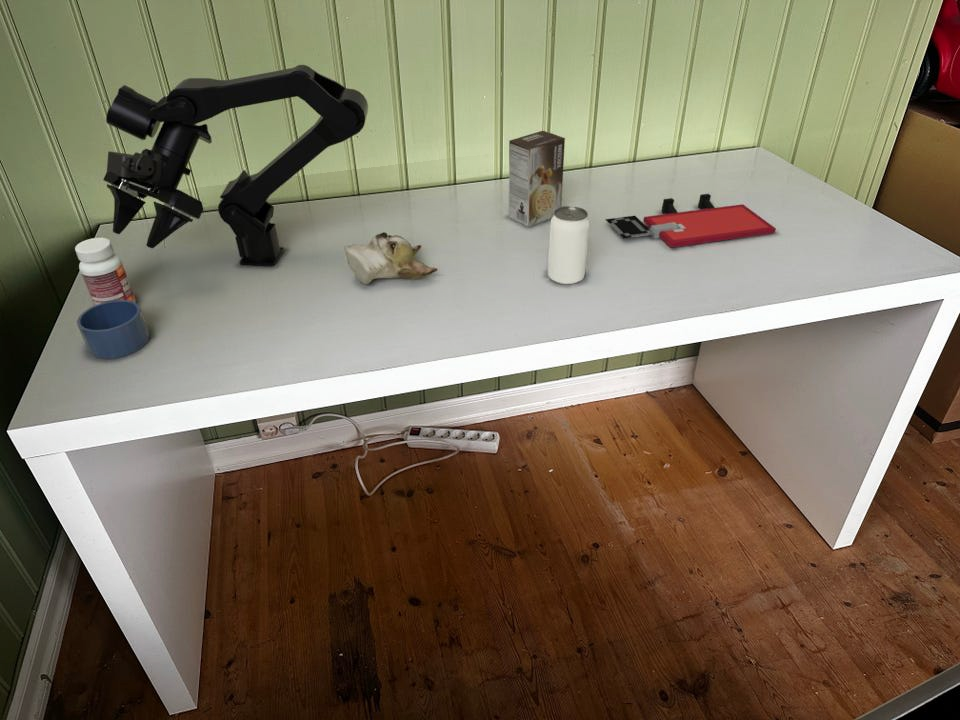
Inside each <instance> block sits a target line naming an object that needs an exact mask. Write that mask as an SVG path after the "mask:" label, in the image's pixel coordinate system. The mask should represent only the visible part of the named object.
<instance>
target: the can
mask: <svg viewBox="0 0 960 720" xmlns="http://www.w3.org/2000/svg"><path fill="white" fill-rule="evenodd" d="M588 215H589V214H588V211H587V210H586V209H584V208H583V207H578V206H575V205H566V206H565V205H564V206H561V207H560V208H557V209H556V210H555V211H554V216H553V217H552V218H551V219H550V228H549V241H548V243H549V244H548V261H547V264H548V265H547V276H548V278H549V279H550V280H551V281H553V282H554V283H556V284H559V285H567V286H569V285H570V286H571V285H575V284H578V283H579V282H581V281H582V280H583V279H584V278H585V274H586V264H587V263H586V262H587V255H588V254H587V253H588V244H589V234H590V220H589V217H588Z"/></svg>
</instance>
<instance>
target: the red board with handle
mask: <svg viewBox="0 0 960 720" xmlns="http://www.w3.org/2000/svg"><path fill="white" fill-rule="evenodd" d="M711 197H712V195H711V194H710V193H703V194H700V195H699V200H698V205H697V208H698V209H695V210H687V211H679V212H678V211H677V209H676V207H675V206H674V203H675V199H674V198H673V197H670V198H663V201H662V206H661V211H660V212H661V214H656V215H647V216H643V220H642V221H641V220H640V219H639V217H637V216H636V215H627V216H621V217H619V216H618V217H613V218H605V219H604V220H605V221H606V222H607V223H608V224H609V226H611V227H612V228H613V229H614V231H616V232H617V234H619V236H621V238H622V239H625V240H626V239H631V238H639V237H647V236H650V237H651V238H652V239H654V240H656V239H661V240H662V241H663V242H664V243H666V244H667V246H669V248H677V247H683V246H691V245H698V244H705V243H713V242H720V241H726V240H734V239H741V238H749V237H755V236H762V235H770V234H775V233H776V230H777V228H776V227H775V226H773V225H772V224H770V223H769V222H768V221H767V220H765V219H764V218H762V217H761V216H760V215H758V214H757V213H756V212H754V211H753V210H752V209H750V208H749V207H748V206H746V205H744V204H733V205H726V206H718V207H715V206H714V204H713V203H712V201H711Z"/></svg>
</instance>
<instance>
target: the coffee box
mask: <svg viewBox="0 0 960 720" xmlns="http://www.w3.org/2000/svg"><path fill="white" fill-rule="evenodd" d="M508 143H509V144H508V145H509V148H508V149H509V151H508V152H509V153H508V154H509V155H508V218H510V219H511V220H513V221H516V222H517V223H520V224H522V225H523V226H525V227H527V228H530V227H534V226H535V225H538V224H540V223H543V222H545V221H548V220H551V219H552V217H553V216H554V211H555V210H556V209H557V208H560V207H562V202H563V201H562V200H563V182H564V166H565V165H564V164H565V147H566V145H565V143H566V137H563V136H560V135H557V134H554V133H552V132H549V131H545V130H540V131H537V132H533V133H530V134H527V135H523V136H519V137H517V138H513V139H509V140H508Z"/></svg>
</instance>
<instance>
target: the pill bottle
mask: <svg viewBox="0 0 960 720" xmlns="http://www.w3.org/2000/svg"><path fill="white" fill-rule="evenodd" d="M74 251H75V253H76V257H77V259H78V260H79V261H80V262H79V265H78V268H79V273H80V275H81V277H82V279H83V281H84V284H85V286H86V289H87V291H88V293H89V296H90V298H91V300H92V303H93V306H95V305H97V304H100V303H104V302H107V301H113V300H129V301H133V302H135V303H136V296H135V294H134V291H133V289H132V286H131V283H130V280H129V277H128V275H127V272H126V269H125V267H124V264H123V261H122V259H121V257H120V256H119V254H117V253H115V250H114V247H113V245H112V242H111V240H110V239H108V238H106V237H91V238H89V239H85V240H82V241H81V242H79V243H77V244H76V245H75V246H74Z"/></svg>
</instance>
